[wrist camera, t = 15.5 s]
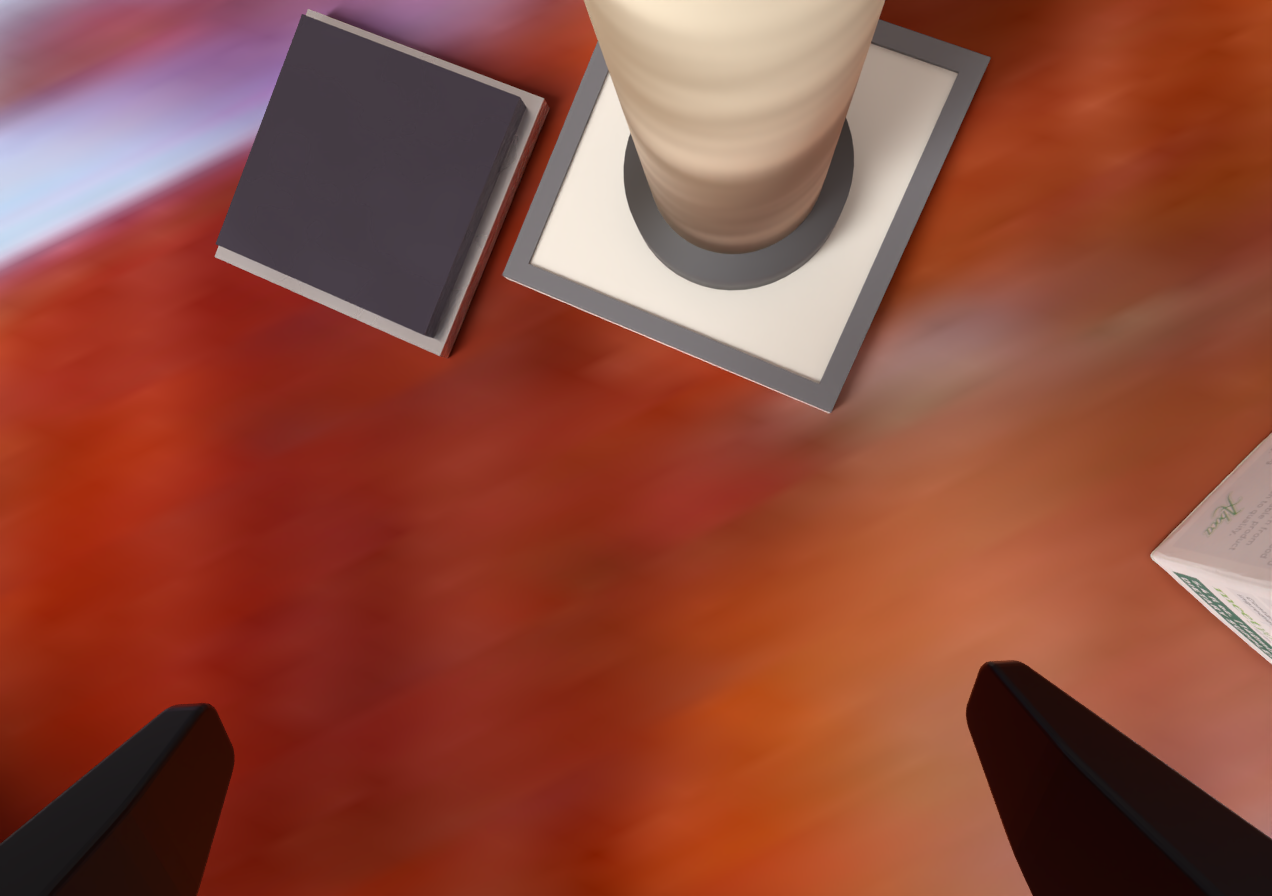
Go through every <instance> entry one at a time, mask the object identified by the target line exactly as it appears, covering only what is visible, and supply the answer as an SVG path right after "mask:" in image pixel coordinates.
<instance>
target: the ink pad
mask: <svg viewBox="0 0 1272 896" xmlns="http://www.w3.org/2000/svg"><path fill="white" fill-rule="evenodd" d="M549 109H550V108H549V106H548V104H547V103H546V101H545V99H544V98H542V97H539V96H536V95H534V94H531V93H528V92H526V91H523V90H520V89H518V88H515V87H513V86H510V85H507V84H505V83H502V82H499V81H497V80H494V79H491V78H489V77H486V76H483V75H481V74H478V73H476V72H473V71H470V70H468V69H465V68H462V67H460V66H457V65H454V64H452V63H449V62H447V61H444V60H441V59H439V58H436V57H433V56H431V55H428V54H425V53H423V52H420V51H418V50H415V49H412V48H410V47H407V46H404V45H402V44H399V43H396V42H394V41H391V40H389V39H386V38H383V37H381V36H378V35H375V34H373V33H370V32H367V31H365V30H362V29H360V28H357V27H354V26H352V25H349V24H346V23H344V22H341V21H338V20H336V19H333V18H331V17H328V16H325V15H323V14H320V13H317V12H315V11H312V10H309V9H308V11H307V13H306V15H303V14H302V16H301V19H300V22H299V24H298V27H297V30H296V32H295V35H294V38H293V40H292V43H291V45H290V48H289V51H288V53H287V56H286V59H285V61H284V64H283V67H282V69H281V72H280V75H279V77H278V80H277V83H276V85H275V88H274V91H273V93H272V96H271V99H270V101H269V104H268V107H267V109H266V112H265V115H264V117H263V120H262V122H261V125H260V128H259V130H258V133H257V136H256V138H255V141H254V144H253V146H252V149H251V152H250V154H249V157H248V160H247V162H246V165H245V168H244V170H243V173H242V176H241V178H240V181H239V184H238V186H237V189H236V192H235V194H234V197H233V199H232V202H231V205H230V207H229V210H228V213H227V215H226V218H225V221H224V223H223V226H222V229H221V231H220V234H219V237H218V239H217V242H216V244H217V245H219V247H218V249H217V252H216V255H215V257H216V258H218V259H221V260H223V261H225V262H228V263H230V264H232V265H234V266H237V267H239V268H241V269H243V270H246V271H248V272H250V273H253V274H255V275H257V276H259V277H262V278H264V279H266V280H268V281H271V282H273V283H275V284H277V285H280V286H282V287H284V288H287V289H289V290H291V291H293V292H296V293H298V294H300V295H302V296H305V297H307V298H309V299H312V300H314V301H316V302H318V303H321V304H323V305H325V306H327V307H330V308H332V309H334V310H337V311H339V312H341V313H343V314H346V315H348V316H350V317H352V318H355V319H357V320H359V321H361V322H364V323H366V324H368V325H371V326H373V327H375V328H377V329H380V330H382V331H384V332H386V333H389V334H391V335H393V336H396V337H398V338H400V339H402V340H405V341H407V342H409V343H411V344H414V345H416V346H418V347H420V348H423V349H425V350H427V351H430V352H432V353H434V354H436V355H439V356H442V357H445V358H448V357H449V355H450V352H451V350H452V348H453V345H454V343H455V340H456V338H457V335H458V333H459V330H460V328H461V325H462V323H463V321H464V318H465V316H466V313H467V311H468V308H469V306H470V303H471V301H472V298H473V296H474V293H475V291H476V289H477V286H478V284H479V281H480V279H481V276H482V274H483V271H484V269H485V266H486V264H487V261H488V259H489V257H490V254H491V252H492V249H493V247H494V244H495V242H496V239H497V237H498V234H499V232H500V229H501V227H502V225H503V222H504V220H505V217H506V215H507V212H508V210H509V207H510V205H511V202H512V200H513V197H514V195H515V193H516V190H517V188H518V185H519V183H520V180H521V178H522V175H523V173H524V170H525V168H526V166H527V163H528V161H529V158H530V156H531V153H532V151H533V148H534V146H535V143H536V141H537V138H538V136H539V134H540V131H541V129H542V126H543V124H544V121H545V119H546V116H547V114H548V111H549Z"/></svg>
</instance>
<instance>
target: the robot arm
mask: <svg viewBox="0 0 1272 896" xmlns="http://www.w3.org/2000/svg"><path fill="white" fill-rule="evenodd" d="M966 719H967V724H968V728H969V731H970V733H971V736H972V739H973V742H974V745H975V748H976V750H977V753H978V756H979V759H980V762H981V764H982V767H983V770H984V773H985V776H986V778H987V781H988V784H989V787H990V790H991V793H992V795H993V798H994V801H995V804H996V807H997V809H998V812H999V815H1000V818H1001V821H1002V823H1003V826H1004V829H1005V832H1006V835H1007V837H1008V840H1009V842H1010V845H1011V848H1012V850H1013V853H1014V855H1015V857H1016V860H1017V862H1018V864H1019V867H1020V869H1021V871H1022V873H1023V876H1024V878H1025V880H1026V882H1027V884H1028V886H1029V888H1030V891H1031V893H1032V895H1033V896H1272V839H1271V838H1270V837H1268V836H1267V835H1265V834H1264V833H1263V832H1261V831H1260V830H1258V829H1257V828H1256V827H1254V826H1253V825H1251V824H1250V823H1248V822H1247V821H1246V820H1244V819H1243V818H1241V817H1240V816H1239V815H1237V814H1236V813H1234V812H1233V811H1232V810H1230V809H1229V808H1227V807H1226V806H1225V805H1223V804H1222V803H1220V802H1219V801H1217V800H1216V799H1215V798H1213V797H1212V796H1210V795H1209V794H1208V793H1206V792H1205V791H1203V790H1202V789H1201V788H1199V787H1198V786H1196V785H1195V784H1194V783H1192V782H1191V781H1189V780H1188V779H1186V778H1185V777H1184V776H1182V775H1181V774H1179V773H1178V772H1177V771H1175V770H1174V769H1172V768H1171V767H1170V766H1168V765H1167V764H1165V763H1164V762H1162V761H1161V760H1160V759H1158V758H1157V757H1155V756H1154V755H1153V754H1151V753H1150V752H1148V751H1147V750H1146V749H1144V748H1143V747H1141V746H1140V745H1139V744H1137V743H1136V742H1134V741H1133V740H1131V739H1130V738H1129V737H1127V736H1126V735H1124V734H1123V733H1122V732H1120V731H1119V730H1117V729H1116V728H1115V727H1113V726H1112V725H1110V724H1109V723H1108V722H1106V721H1105V720H1103V719H1102V718H1100V717H1099V716H1098V715H1096V714H1095V713H1093V712H1092V711H1091V710H1089V709H1088V708H1086V707H1085V706H1084V705H1082V704H1081V703H1079V702H1078V701H1076V700H1075V699H1074V698H1072V697H1071V696H1069V695H1068V694H1067V693H1065V692H1064V691H1062V690H1061V689H1060V688H1058V687H1057V686H1055V685H1054V684H1053V683H1051V682H1050V681H1048V680H1047V679H1045V678H1044V677H1043V676H1041V675H1040V674H1038V673H1037V672H1036V671H1034V670H1033V669H1031V668H1030V667H1029V666H1027V665H1025V664H1024V663H1022V662H1019V661H1014V660H1009V661H990V662H986V663H985V664H984V665H982V666H981V668H980V670H979V673H978V675H977V678H976V681H975V684H974V687H973V689H972V692H971V695H970V698H969V701H968V704H967V708H966ZM233 767H234V750H233V746H232V744H231V742H230V740H229V737H228V735H227V733H226V731H225V729H224V726H223V724H222V722H221V720H220V718H219V715H218V713H217V711H216V709H215V708H214V707H213V706H211V705H210V704H206V703H198V704H180V705H174V706H171V707H169V708H167V709H166V710H164V711H163V712H161V713H160V714H159V715H158V716H157V717H155V718H154V719H153V720H152V721H150V722H149V723H148V724H147V725H146V726H144V727H143V728H142V729H141V730H139V731H138V732H137V733H136V734H134V735H133V736H132V737H131V738H130V739H128V740H127V741H126V742H125V743H123V744H122V745H121V746H120V747H118V748H117V749H116V750H115V751H114V752H112V753H111V754H110V755H109V756H107V757H106V758H105V759H104V760H103V761H101V762H100V763H99V764H98V765H96V766H95V767H94V768H93V769H91V770H90V771H89V772H88V773H87V774H85V775H84V776H83V777H82V778H80V779H79V780H78V781H77V782H76V783H74V784H73V785H72V786H71V787H69V788H68V789H67V790H66V791H64V792H63V793H62V794H61V795H60V796H58V797H57V798H56V799H55V800H53V801H52V802H51V803H50V804H48V805H47V806H46V807H45V808H44V809H42V810H41V811H40V812H39V813H37V814H36V815H35V816H34V817H33V818H31V819H30V820H29V821H28V822H26V823H25V824H24V825H23V826H21V827H20V828H19V829H18V830H17V831H15V832H14V833H13V834H12V835H10V836H9V837H8V838H7V839H6V840H4V841H3V842H2V843H1V844H0V896H197V893H198V890H199V887H200V884H201V880H202V877H203V873H204V870H205V866H206V863H207V859H208V856H209V852H210V849H211V845H212V842H213V838H214V835H215V831H216V828H217V824H218V821H219V817H220V814H221V810H222V807H223V803H224V800H225V796H226V793H227V789H228V786H229V782H230V779H231V775H232V772H233Z"/></svg>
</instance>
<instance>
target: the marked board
mask: <svg viewBox="0 0 1272 896" xmlns="http://www.w3.org/2000/svg"><path fill="white" fill-rule="evenodd" d="M990 59H991V57H988V56H985V55H982V54H980V53H977V52H974V51H971V50H968V49H965V48H962V47H959V46H956V45H953V44H950V43H947V42H944V41H941V40H938V39H935V38H933V37H930V36H927V35H924V34H921V33H918V32H915V31H912V30H909V29H906V28H903V27H900V26H897V25H894V24H891V23H888V22H886V21H883V20H880V19H879V20H878V23H877V26H876V29H875V32H874V35H873V38H872V41H871V44H870V47H869V50H868V53H867V56H866V59H865V62H864V65H863V68H862V71H861V74H860V77H859V80H858V83H857V86H856V89H855V92H854V94H853V97H852V100H851V103H850V106H849V109H848V112H847V115H846V119H847V121H848V125H849V128H850V131H851V135H852V141H853V148H854V170H853V178H852V184H851V187H850V191H849V195H848V198H847V200H846V203H845V205H844V208H843V210H842V213H841V215H840V217H839V219H838V221H837V223H836V225H835V227H834V229H833V231H832V233H831V234H830V236H829V238H828V239H827V240H826V242H825V243H824V245H823V246H822V247H821V249H820V250H819V251H818V252H817V253H816V254H815V255H814V256H813V257H812V258H811V259H810V260H809V261H808V262H807V263H805V264H804V265H803V266H802V267H800V268H799V269H798V270H796V271H795V272H793V273H791V274H790V275H788V276H787V277H785V278H782V279H780V280H778V281H776V282H774V283H771V284H768V285H765V286H761V287H758V288H752V289H746V290H720V289H713V288H709V287H704V286H701V285H698V284H695V283H693V282H690V281H688V280H686V279H684V278H682V277H681V276H679V275H677V274H676V273H674V272H673V271H671V270H670V269H669V268H667V267H666V266H665V265H664V264H663V263H662V262H661V261H660V260H659V259H658V258H657V257H656V256H655V255H654V254H653V252H652V251H651V250H650V249H649V247H648V246H647V244H646V242H645V241H644V239H643V237H642V236H641V234H640V232H639V230H638V227H637V225H636V223H635V221H634V219H633V216H632V214H631V212H630V209H629V206H628V202H627V198H626V194H625V187H624V169H623V166H624V158H625V151H626V147H627V142H628V138H629V135H630V130H629V127H628V124H627V121H626V119H625V116H624V113H623V110H622V107H621V104H620V102H619V99H618V96H617V93H616V90H615V87H614V85H613V82H612V79H611V76H610V73H609V70H608V67H607V65H606V62H605V59H604V56H603V53H602V50H601V48H600V45H599V42H597V45H596V47H595V50H594V52H593V54H592V57H591V59H590V62H589V64H588V67H587V69H586V72H585V74H584V77H583V79H582V81H581V84H580V86H579V89H578V91H577V94H576V96H575V99H574V101H573V103H572V106H571V108H570V111H569V113H568V116H567V118H566V121H565V123H564V125H563V128H562V130H561V133H560V135H559V138H558V140H557V143H556V145H555V147H554V150H553V152H552V155H551V157H550V160H549V162H548V165H547V167H546V169H545V172H544V174H543V177H542V179H541V182H540V184H539V187H538V189H537V192H536V194H535V196H534V199H533V201H532V204H531V206H530V209H529V211H528V214H527V216H526V218H525V221H524V223H523V226H522V228H521V231H520V233H519V236H518V238H517V240H516V243H515V245H514V248H513V250H512V253H511V255H510V258H509V260H508V262H507V265H506V267H505V270H504V272H503V276H504V277H506V278H507V279H509V280H511V281H514V282H516V283H518V284H521V285H523V286H526V287H528V288H530V289H533V290H535V291H538V292H540V293H542V294H545V295H547V296H549V297H552V298H554V299H557V300H559V301H561V302H564V303H566V304H569V305H571V306H573V307H576V308H578V309H581V310H583V311H585V312H588V313H590V314H592V315H595V316H597V317H600V318H602V319H604V320H607V321H609V322H612V323H614V324H616V325H619V326H621V327H624V328H626V329H628V330H631V331H633V332H635V333H638V334H640V335H643V336H645V337H647V338H650V339H652V340H655V341H657V342H659V343H662V344H664V345H666V346H669V347H671V348H674V349H676V350H678V351H681V352H683V353H686V354H688V355H690V356H693V357H695V358H698V359H700V360H702V361H705V362H707V363H709V364H712V365H714V366H717V367H719V368H721V369H724V370H726V371H729V372H731V373H733V374H736V375H738V376H741V377H743V378H745V379H748V380H750V381H752V382H755V383H757V384H760V385H762V386H764V387H767V388H769V389H772V390H774V391H776V392H779V393H781V394H783V395H786V396H788V397H791V398H793V399H795V400H798V401H800V402H803V403H805V404H807V405H810V406H812V407H815V408H817V409H819V410H822V411H824V412H826V413H831V411H832V409H833V407H834V405H835V403H836V400H837V398H838V396H839V394H840V391H841V389H842V387H843V385H844V383H845V380H846V378H847V376H848V374H849V371H850V369H851V367H852V365H853V363H854V360H855V358H856V356H857V354H858V351H859V349H860V347H861V345H862V343H863V340H864V338H865V336H866V334H867V332H868V329H869V327H870V325H871V323H872V320H873V318H874V316H875V314H876V312H877V309H878V307H879V305H880V303H881V300H882V298H883V296H884V294H885V292H886V289H887V287H888V285H889V283H890V280H891V278H892V276H893V274H894V272H895V269H896V267H897V265H898V263H899V261H900V258H901V256H902V254H903V252H904V249H905V247H906V245H907V243H908V241H909V238H910V236H911V234H912V232H913V229H914V227H915V225H916V223H917V221H918V218H919V216H920V214H921V212H922V209H923V207H924V205H925V203H926V201H927V198H928V196H929V194H930V192H931V190H932V187H933V185H934V183H935V181H936V178H937V176H938V174H939V172H940V170H941V167H942V165H943V163H944V161H945V158H946V156H947V154H948V152H949V150H950V147H951V145H952V143H953V141H954V138H955V136H956V134H957V132H958V130H959V127H960V125H961V123H962V121H963V118H964V116H965V114H966V112H967V110H968V107H969V105H970V103H971V101H972V99H973V96H974V94H975V92H976V90H977V87H978V85H979V83H980V81H981V79H982V76H983V74H984V72H985V70H986V67H987V65H988V63H989V61H990Z"/></svg>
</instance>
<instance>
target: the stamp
mask: <svg viewBox="0 0 1272 896" xmlns="http://www.w3.org/2000/svg"><path fill="white" fill-rule="evenodd" d="M584 2H585V5H586V8H587V11H588V13H589V16H590V19H591V22H592V25H593V28H594V31H595V33H596V36H597V39H598V42H599V45H600V48H601V50H602V53H603V56H604V59H605V62H606V65H607V67H608V70H609V73H610V76H611V79H612V82H613V85H614V87H615V90H616V93H617V96H618V99H619V102H620V104H621V107H622V110H623V113H624V116H625V119H626V121H627V124H628V127H629V130H630V135H629V138H628V142H627V147H626V151H625V158H624V166H623V169H624V187H625V194H626V198H627V202H628V206H629V209H630V212H631V214H632V216H633V219H634V221H635V223H636V225H637V227H638V230H639V232H640V234H641V236H642V237H643V239H644V241H645V242H646V244H647V246H648V247H649V249H650V250H651V251H652V252H653V254H654V255H655V256H656V257H657V258H658V259H659V260H660V261H661V262H662V263H663V264H664V265H665V266H666V267H667V268H669V269H670V270H671V271H673V272H674V273H676V274H677V275H679V276H681V277H682V278H684V279H686V280H688V281H690V282H693V283H695V284H698V285H701V286H704V287H709V288H713V289H720V290H746V289H752V288H758V287H761V286H765V285H768V284H771V283H774V282H776V281H778V280H780V279H782V278H785V277H787V276H788V275H790V274H791V273H793V272H795V271H796V270H798V269H799V268H800V267H802V266H803V265H804V264H805V263H807V262H808V261H809V260H810V259H811V258H812V257H813V256H814V255H815V254H816V253H817V252H818V251H819V250H820V249H821V247H822V246H823V245H824V243H825V242H826V240H827V239H828V238H829V236H830V234H831V233H832V231H833V229H834V227H835V225H836V223H837V221H838V219H839V217H840V215H841V213H842V210H843V208H844V205H845V203H846V200H847V198H848V195H849V191H850V187H851V184H852V178H853V170H854V148H853V141H852V135H851V131H850V128H849V125H848V121H847V119H846V115H847V112H848V109H849V106H850V103H851V100H852V97H853V94H854V92H855V89H856V86H857V83H858V80H859V77H860V74H861V71H862V68H863V65H864V62H865V59H866V56H867V53H868V50H869V47H870V44H871V41H872V38H873V35H874V32H875V29H876V26H877V23H878V20H879V17H880V14H881V11H882V8H883V6H884V3H885V0H584Z"/></svg>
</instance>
